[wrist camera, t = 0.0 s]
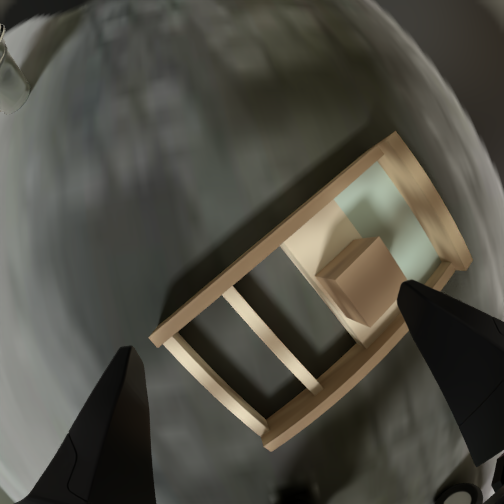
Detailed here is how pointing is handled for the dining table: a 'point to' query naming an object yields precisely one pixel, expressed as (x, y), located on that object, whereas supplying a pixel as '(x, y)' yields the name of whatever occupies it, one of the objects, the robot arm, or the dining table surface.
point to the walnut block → (363, 280)
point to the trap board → (309, 264)
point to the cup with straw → (11, 80)
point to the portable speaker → (461, 495)
